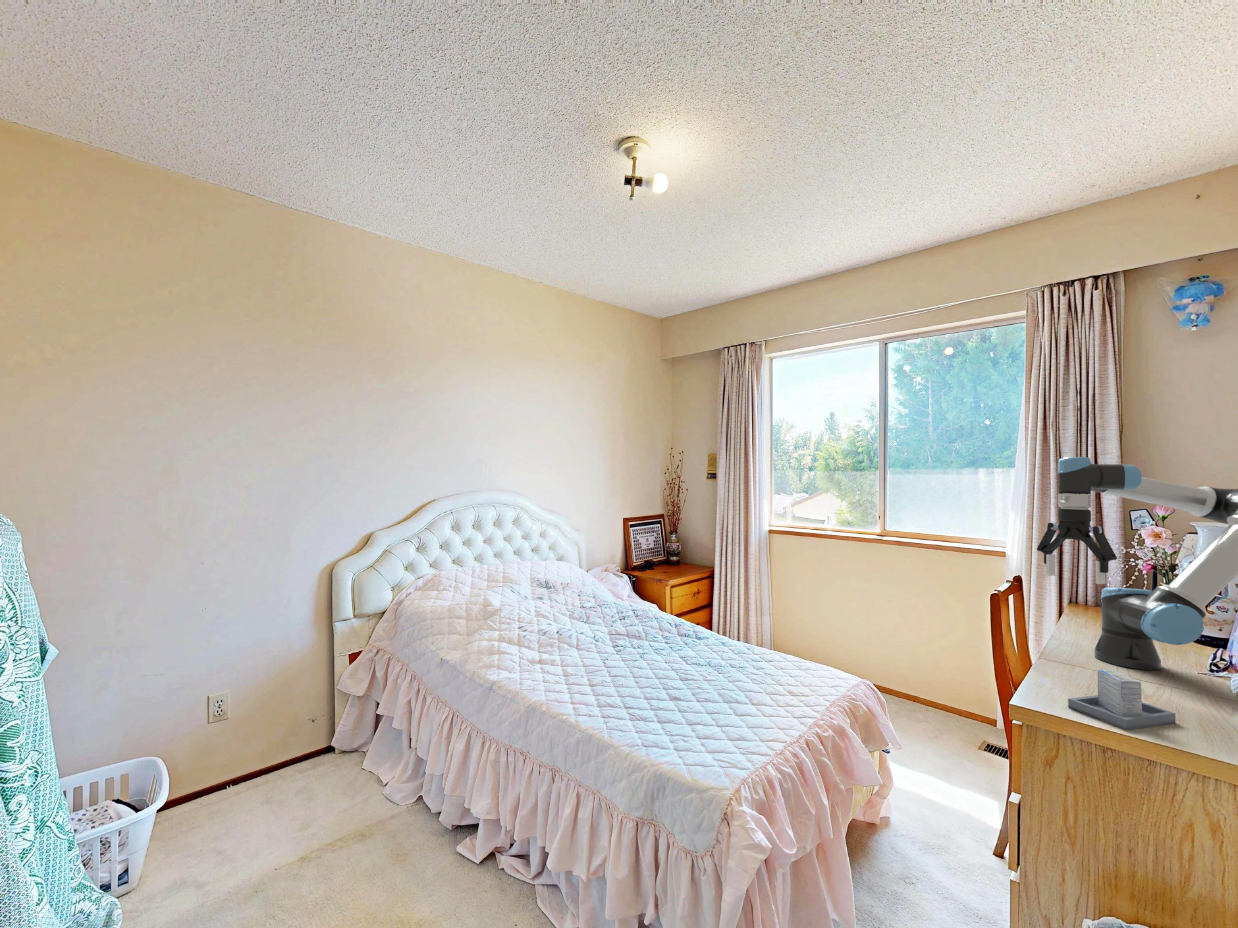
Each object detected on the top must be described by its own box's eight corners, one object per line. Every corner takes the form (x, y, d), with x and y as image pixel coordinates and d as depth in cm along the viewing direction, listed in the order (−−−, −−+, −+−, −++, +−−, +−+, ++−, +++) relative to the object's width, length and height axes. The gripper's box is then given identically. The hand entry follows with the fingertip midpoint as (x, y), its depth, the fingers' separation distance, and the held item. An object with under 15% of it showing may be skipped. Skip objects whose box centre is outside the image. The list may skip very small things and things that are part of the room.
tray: (1115, 701, 134) (1114, 692, 134) (1175, 722, 123) (1175, 713, 123) (1068, 707, 130) (1068, 698, 130) (1126, 729, 118) (1126, 719, 118)
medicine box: (1142, 720, 122) (1142, 682, 122) (1120, 718, 123) (1120, 680, 123) (1118, 706, 130) (1117, 670, 130) (1097, 704, 131) (1096, 668, 131)
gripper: (1023, 506, 170) (1023, 572, 170) (1113, 510, 146) (1114, 588, 146) (1040, 506, 172) (1041, 572, 172) (1132, 510, 148) (1133, 587, 148)
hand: (1074, 579), depth 159 cm, fingers open, 13 cm apart
